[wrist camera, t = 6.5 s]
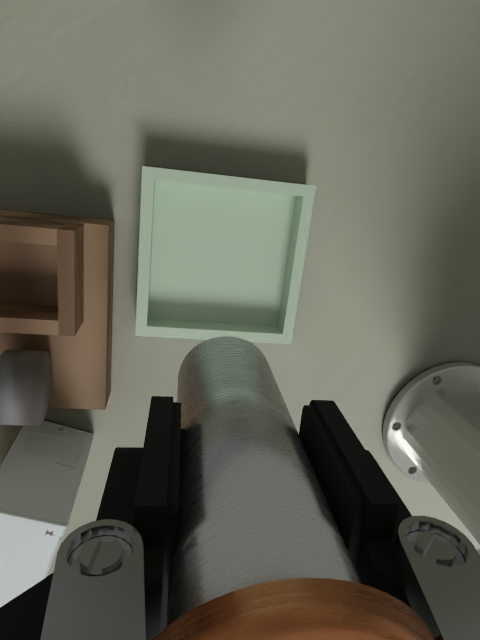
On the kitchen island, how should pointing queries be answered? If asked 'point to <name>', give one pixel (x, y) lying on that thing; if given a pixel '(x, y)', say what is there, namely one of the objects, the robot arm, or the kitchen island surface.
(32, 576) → the small box
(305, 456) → the lock pin
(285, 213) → the tray
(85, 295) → the brown wooden stepped holder
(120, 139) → the kitchen island surface
